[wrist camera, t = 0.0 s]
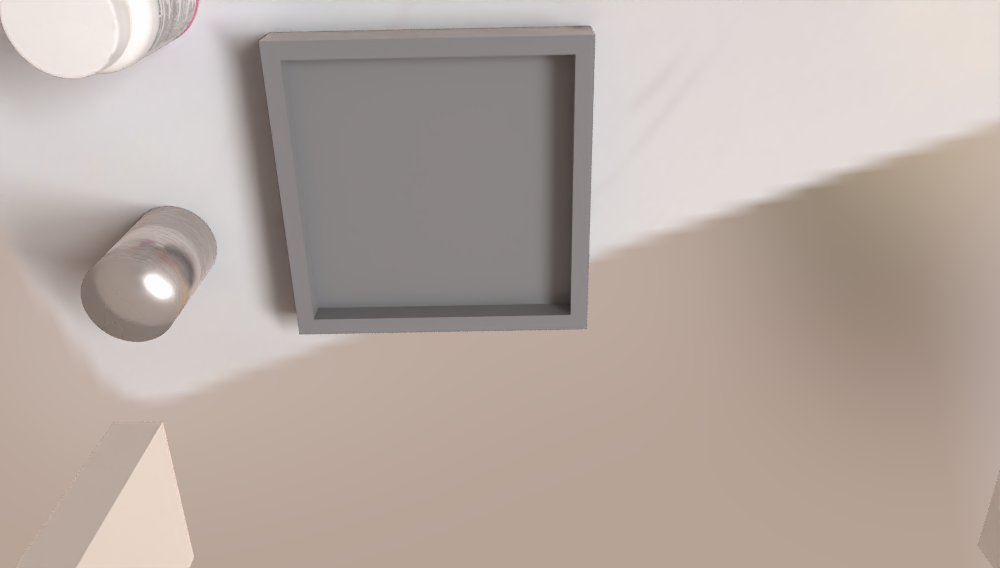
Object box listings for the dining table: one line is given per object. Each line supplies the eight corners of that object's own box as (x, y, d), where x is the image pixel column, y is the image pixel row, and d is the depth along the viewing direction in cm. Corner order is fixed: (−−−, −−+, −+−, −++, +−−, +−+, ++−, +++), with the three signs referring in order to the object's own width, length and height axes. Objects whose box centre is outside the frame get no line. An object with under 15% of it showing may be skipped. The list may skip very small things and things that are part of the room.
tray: (269, 32, 38) (258, 41, 36) (590, 25, 38) (595, 34, 36) (307, 314, 44) (299, 334, 42) (583, 309, 44) (586, 329, 42)
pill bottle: (88, 29, 38) (-14, 72, 30) (91, -86, 36) (-18, -71, 28) (198, 54, 38) (125, 103, 31) (207, -58, 36) (131, -35, 29)
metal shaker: (125, 207, 42) (70, 259, 36) (209, 205, 41) (166, 257, 36) (142, 282, 43) (92, 342, 38) (222, 280, 43) (184, 340, 38)
